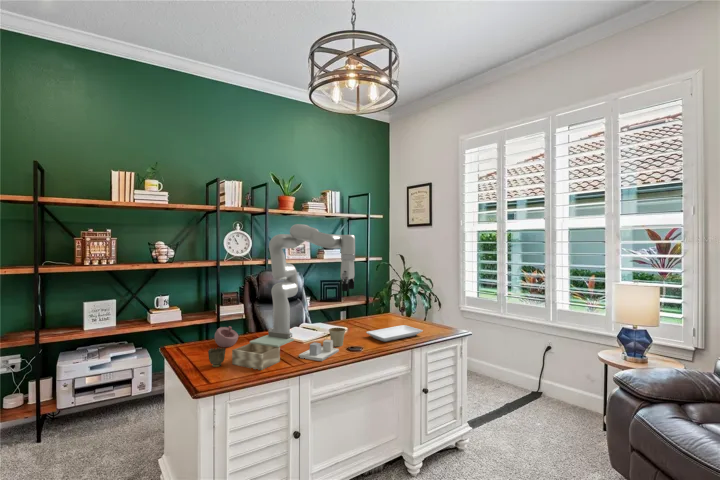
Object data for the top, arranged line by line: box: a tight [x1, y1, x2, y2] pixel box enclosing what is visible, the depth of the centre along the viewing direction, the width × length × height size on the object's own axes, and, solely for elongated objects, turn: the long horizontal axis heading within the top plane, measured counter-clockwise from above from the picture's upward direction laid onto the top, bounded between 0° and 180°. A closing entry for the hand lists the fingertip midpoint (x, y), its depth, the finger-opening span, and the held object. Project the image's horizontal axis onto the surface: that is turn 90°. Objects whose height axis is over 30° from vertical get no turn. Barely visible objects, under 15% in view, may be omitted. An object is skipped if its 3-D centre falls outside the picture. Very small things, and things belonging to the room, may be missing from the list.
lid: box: [248, 331, 295, 348], centre depth 182 cm, size 17×13×3 cm
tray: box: [366, 324, 424, 342], centre depth 221 cm, size 17×32×4 cm, turn 126°
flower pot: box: [328, 327, 347, 348], centre depth 201 cm, size 9×9×9 cm
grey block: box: [309, 341, 322, 356], centre depth 183 cm, size 4×4×5 cm
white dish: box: [298, 345, 340, 362], centre depth 185 cm, size 13×17×1 cm
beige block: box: [322, 339, 334, 352], centre depth 188 cm, size 4×4×5 cm
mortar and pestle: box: [214, 325, 239, 348], centre depth 198 cm, size 12×12×12 cm
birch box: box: [231, 343, 281, 371], centre depth 172 cm, size 17×13×7 cm
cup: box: [207, 346, 227, 368], centre depth 167 cm, size 8×7×8 cm
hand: (348, 289), depth 197 cm, fingers open, 9 cm apart
